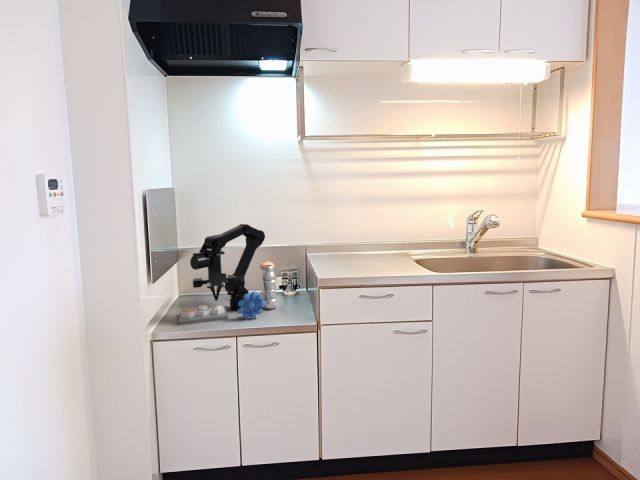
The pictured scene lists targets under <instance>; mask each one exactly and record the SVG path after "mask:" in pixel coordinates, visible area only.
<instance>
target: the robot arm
mask: <svg viewBox="0 0 640 480" xmlns="http://www.w3.org/2000/svg"><path fill="white" fill-rule="evenodd" d="M241 236H244V237H245V248H244V250H243V252H242V254H241V256H240V259H239V261H238V262H237V263H238V264H237V266H236V268H235V270H234V273H232V274H228V275H227V273H226V272H224V273H222V257H221V256H222V255H225V253H226V252H225V251H223V250H222V249H223V248H224V247H226V245H227V243H229V242H231V241H232V240H235V239H236V238H239V237H241ZM265 238H266V235H265V232H264V231H263V230H261V229H257V228H255V227H253V226H251V225H249V224H247V223H239V224H238V225H237V226H235V227H233V228H231V229H228V230H227V231H224V232H222V233H221V234H214V235H213V234H212V235H210V236H209V235H208V236H206V237H205V238H204V242H203V244H202V245H201V248H200V249H199V251H198V252H195V253H194V252H193V253H192V256H191V258H190V261H189V263H190V267H191V268H192V270H195V271H196V270H200V269H204V268H205V269H206V268H207V277H208V278H207V279H203V278H202V277H198V278H193V279H192V287H193V288H194V289H195V288H202V287H203V285H206V288H207V289H209V290H210V291H211V293H212V295H213V297H214V301H215V302H216V301H218V300H219V296H220V293H221V290H222V288H225V289H224V291H226V293H227V296H230V298H229V309H231V311H232V312H233V311H238V309H239V308H240V306H239V305H238V303H239V301H240V300H244V299H243V296H244V295H245V294H249V290H248V289H247V288H246V287H245V286H246V282H245V281H246V280H245V276H246V274H247V271H248V269H249V267H250V264H251V262H252V260H253V258H254V255H255V253H256V250H257V249H258V248H259V247H261V246H262V244H263V243H264V241H265ZM215 287H216V289H215Z"/></svg>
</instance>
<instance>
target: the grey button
mask: <svg viewBox="0 0 640 480" xmlns="http://www.w3.org/2000/svg"><path fill="white" fill-rule="evenodd" d="M208 307H209V306H208V305H207V304H200V305H198V306H197V308H198V311H205V310H208Z"/></svg>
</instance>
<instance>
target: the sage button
mask: <svg viewBox="0 0 640 480" xmlns="http://www.w3.org/2000/svg"><path fill="white" fill-rule="evenodd" d="M222 306H223V305H219V304H218V305H213V306H211V307H212V309H215V310H218V309H221V308H222Z"/></svg>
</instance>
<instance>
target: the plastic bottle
mask: <svg viewBox="0 0 640 480" xmlns="http://www.w3.org/2000/svg"><path fill="white" fill-rule="evenodd" d="M276 275H277V274H276V273H275V272H274V268H273V265H265V272H264V274H263V276H262V275H261V280H262V279H263V285H264V301H265V306H264V307H263V308H264V309H266V310H267V309H269V310H271V309H272V310H273V309H275V308H277V305H278V299H277V293H276V285H277V276H276Z"/></svg>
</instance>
